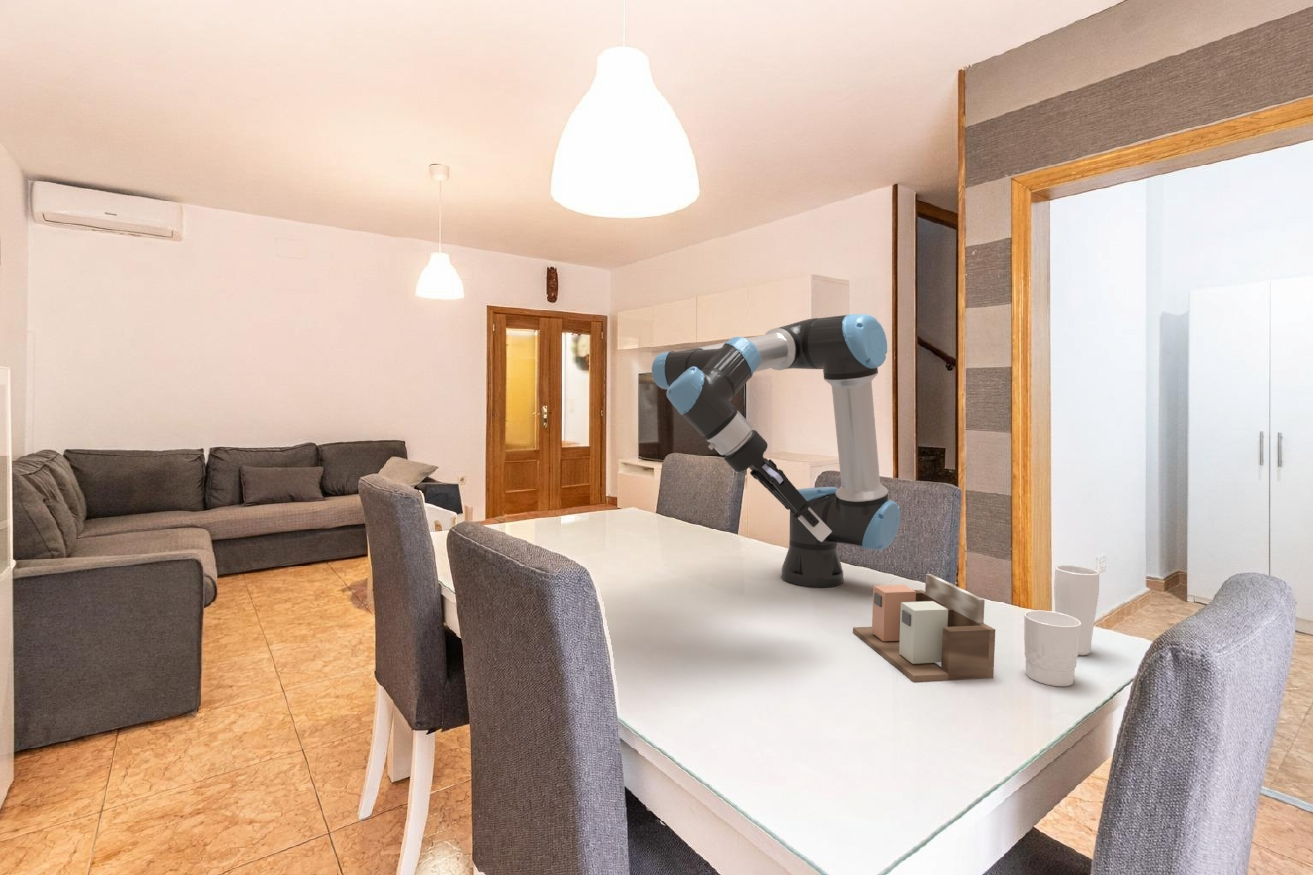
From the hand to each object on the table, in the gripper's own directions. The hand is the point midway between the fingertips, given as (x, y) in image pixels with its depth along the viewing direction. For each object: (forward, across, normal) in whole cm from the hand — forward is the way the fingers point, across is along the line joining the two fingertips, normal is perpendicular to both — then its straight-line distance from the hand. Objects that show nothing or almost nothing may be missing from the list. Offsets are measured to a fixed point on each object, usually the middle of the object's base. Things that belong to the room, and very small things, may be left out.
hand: (825, 535), depth 117 cm
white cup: (+37, +17, +8) cm, 42 cm away
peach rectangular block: (+23, 0, -4) cm, 24 cm away
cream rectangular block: (+23, +10, -4) cm, 25 cm away
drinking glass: (+46, +7, +18) cm, 50 cm away
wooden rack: (+25, +5, -4) cm, 26 cm away
